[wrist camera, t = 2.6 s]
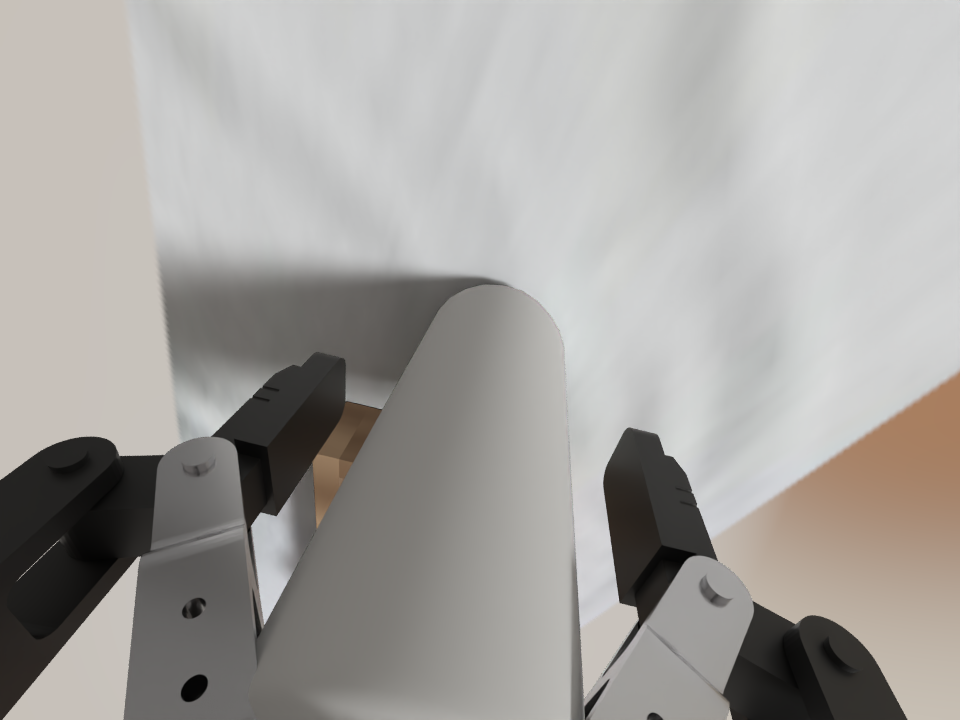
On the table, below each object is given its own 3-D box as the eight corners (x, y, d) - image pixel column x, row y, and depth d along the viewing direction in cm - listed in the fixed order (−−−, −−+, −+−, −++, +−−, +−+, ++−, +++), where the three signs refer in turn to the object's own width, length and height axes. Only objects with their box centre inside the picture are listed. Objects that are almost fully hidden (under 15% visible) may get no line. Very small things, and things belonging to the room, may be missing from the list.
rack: (346, 401, 17) (311, 452, 15) (555, 452, 17) (556, 512, 15) (345, 601, 27) (323, 653, 24) (480, 635, 27) (473, 691, 24)
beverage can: (443, 397, 17) (278, 858, 7) (416, 283, 14) (83, 744, 4) (566, 393, 16) (594, 927, 6) (561, 271, 13) (592, 832, 3)
